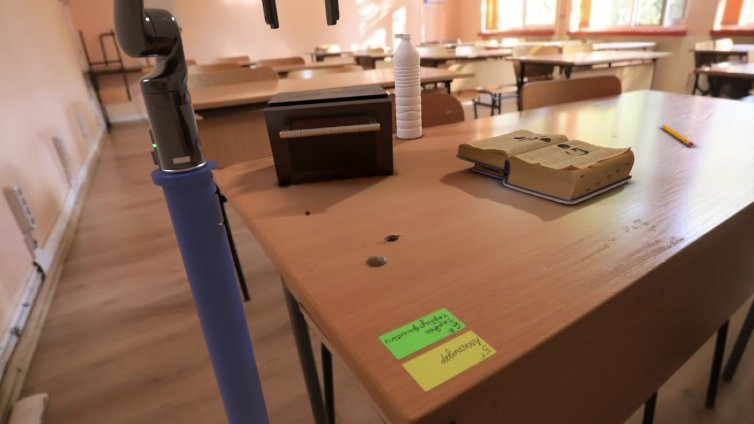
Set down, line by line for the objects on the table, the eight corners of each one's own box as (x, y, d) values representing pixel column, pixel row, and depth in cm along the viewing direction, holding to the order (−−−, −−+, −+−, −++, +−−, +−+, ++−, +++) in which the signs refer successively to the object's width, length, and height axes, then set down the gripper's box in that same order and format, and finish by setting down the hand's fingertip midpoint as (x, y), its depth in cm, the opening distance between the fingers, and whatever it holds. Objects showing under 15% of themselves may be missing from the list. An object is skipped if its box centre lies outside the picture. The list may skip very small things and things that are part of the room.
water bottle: (402, 133, 114) (398, 34, 104) (425, 134, 111) (423, 32, 101) (390, 140, 106) (384, 35, 97) (414, 141, 104) (410, 33, 94)
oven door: (396, 185, 77) (395, 109, 68) (276, 196, 75) (260, 120, 67) (392, 170, 81) (390, 97, 73) (279, 180, 80) (264, 107, 72)
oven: (392, 171, 82) (388, 93, 76) (279, 182, 80) (267, 103, 75) (383, 151, 97) (379, 84, 91) (288, 160, 95) (278, 92, 89)
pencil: (688, 146, 84) (689, 142, 84) (659, 126, 101) (660, 123, 101) (693, 146, 84) (693, 142, 84) (663, 126, 101) (664, 123, 101)
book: (632, 181, 68) (639, 145, 66) (570, 206, 60) (574, 167, 58) (512, 153, 88) (514, 125, 86) (453, 170, 80) (453, 139, 78)
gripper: (328, -99, 59) (339, 26, 65) (224, -107, 53) (248, 31, 59) (349, -118, 53) (360, 22, 59) (235, -128, 47) (260, 28, 53)
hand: (304, 26), depth 59 cm, fingers open, 8 cm apart
